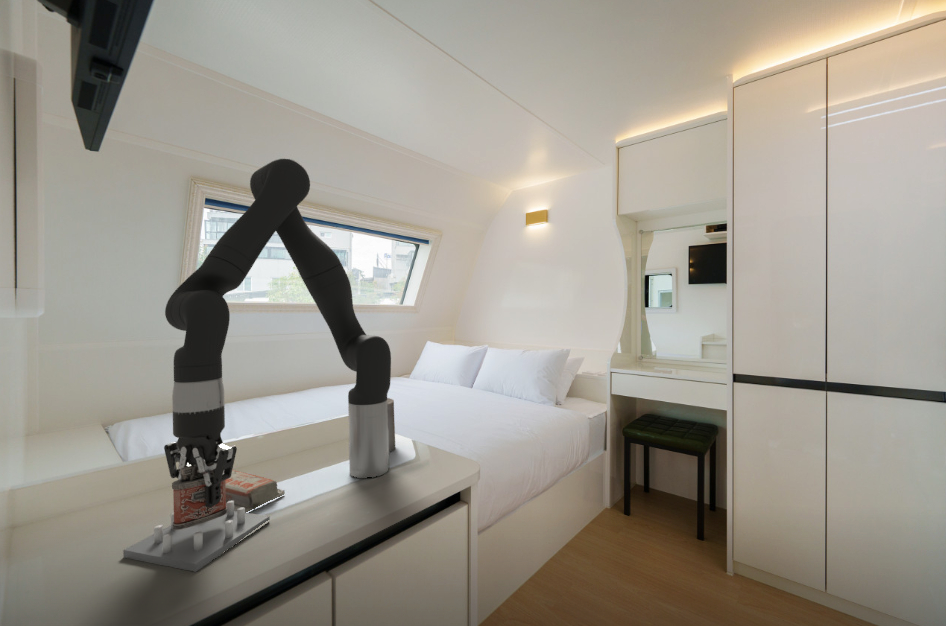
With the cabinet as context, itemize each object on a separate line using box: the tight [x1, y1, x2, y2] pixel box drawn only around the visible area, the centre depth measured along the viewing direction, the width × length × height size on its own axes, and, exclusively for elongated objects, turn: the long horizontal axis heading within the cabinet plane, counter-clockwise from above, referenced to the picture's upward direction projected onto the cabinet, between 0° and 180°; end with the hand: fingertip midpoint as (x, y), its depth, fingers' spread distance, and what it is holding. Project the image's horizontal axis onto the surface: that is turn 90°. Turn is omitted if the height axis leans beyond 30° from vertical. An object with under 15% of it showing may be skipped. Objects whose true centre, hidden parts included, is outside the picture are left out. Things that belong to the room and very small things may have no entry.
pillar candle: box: [387, 397, 396, 453], centre depth 117 cm, size 10×10×15 cm
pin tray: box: [122, 501, 271, 573], centre depth 72 cm, size 15×15×4 cm
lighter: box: [171, 462, 227, 530], centre depth 72 cm, size 8×3×10 cm, turn 137°
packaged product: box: [226, 469, 286, 513], centre depth 88 cm, size 18×5×10 cm
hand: (201, 503), depth 72 cm, fingers closed on lighter, 4 cm apart
